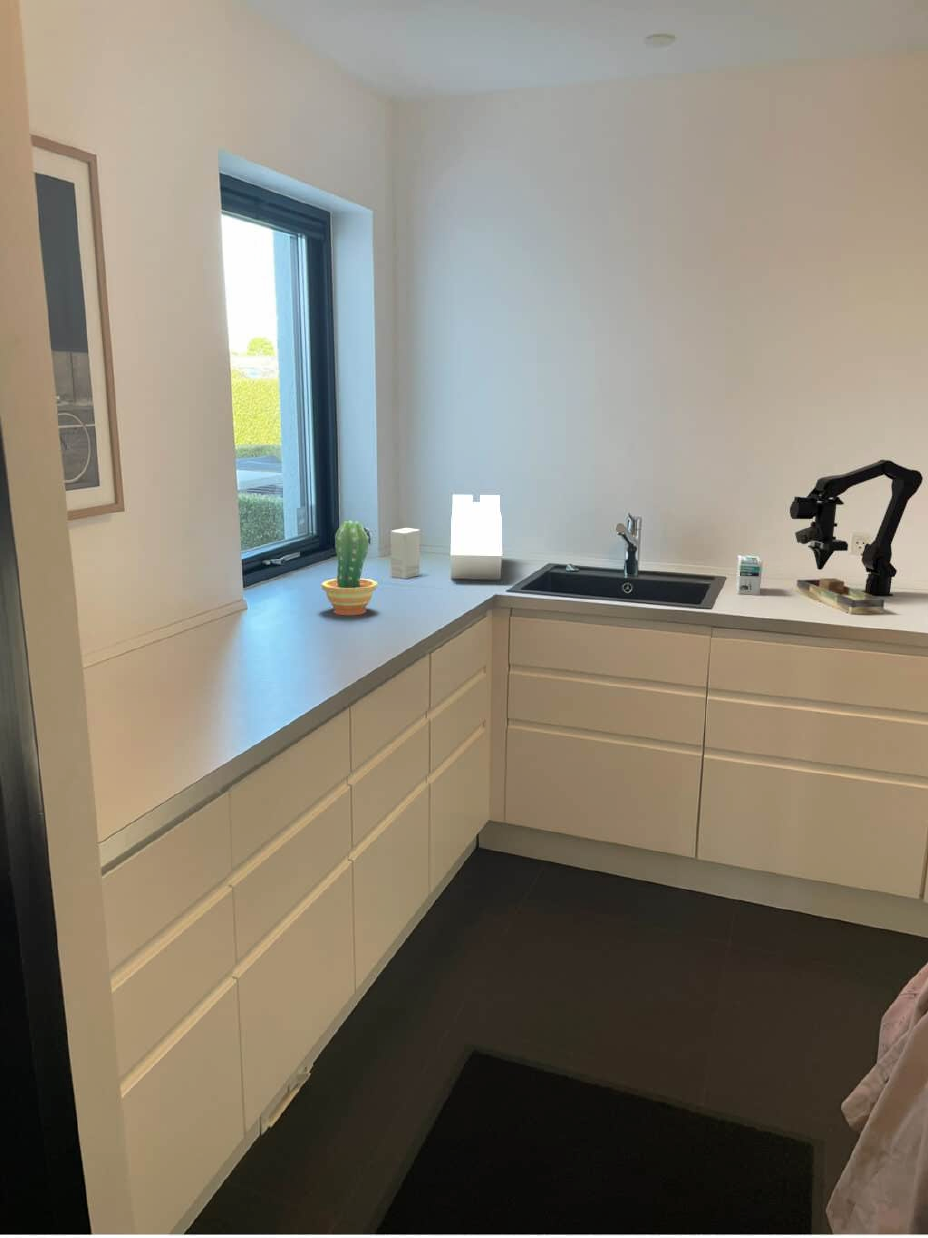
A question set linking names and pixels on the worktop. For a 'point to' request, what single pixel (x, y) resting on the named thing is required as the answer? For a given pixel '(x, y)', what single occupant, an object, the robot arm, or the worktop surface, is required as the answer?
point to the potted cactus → (350, 571)
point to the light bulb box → (748, 575)
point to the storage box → (476, 538)
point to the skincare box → (405, 553)
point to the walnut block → (832, 585)
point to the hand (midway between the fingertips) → (819, 569)
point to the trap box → (842, 598)
